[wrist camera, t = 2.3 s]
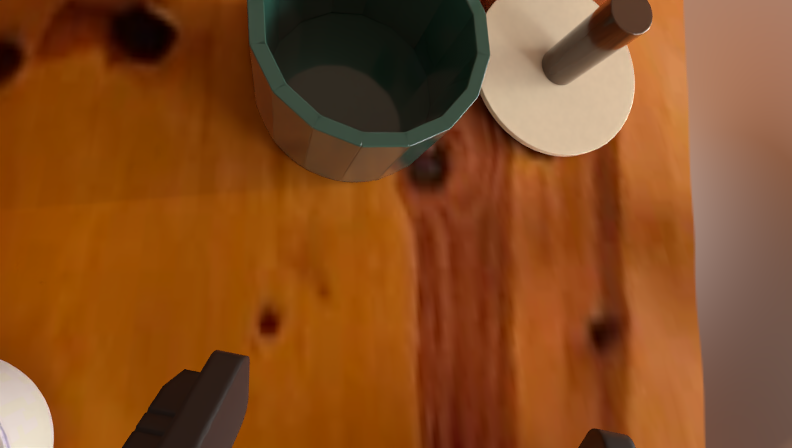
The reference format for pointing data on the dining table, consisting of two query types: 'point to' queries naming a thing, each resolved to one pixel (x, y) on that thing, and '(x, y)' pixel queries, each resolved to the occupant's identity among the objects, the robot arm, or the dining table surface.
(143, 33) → the dining table surface
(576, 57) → the lid
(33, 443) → the teacup
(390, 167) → the green pot
